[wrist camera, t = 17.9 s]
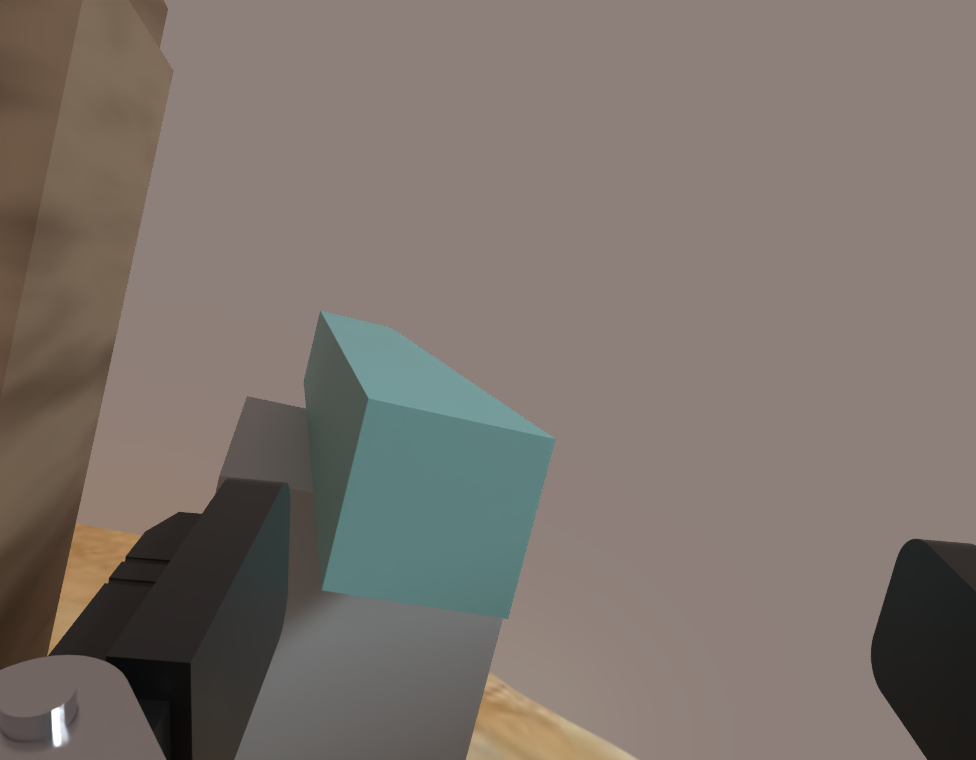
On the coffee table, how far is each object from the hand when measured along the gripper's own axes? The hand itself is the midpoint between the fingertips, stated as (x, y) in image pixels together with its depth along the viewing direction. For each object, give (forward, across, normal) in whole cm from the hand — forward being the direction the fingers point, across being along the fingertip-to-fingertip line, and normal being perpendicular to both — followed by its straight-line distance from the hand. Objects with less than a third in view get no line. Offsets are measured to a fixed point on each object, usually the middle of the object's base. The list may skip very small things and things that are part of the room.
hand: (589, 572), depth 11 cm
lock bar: (+16, +5, +6) cm, 18 cm away
